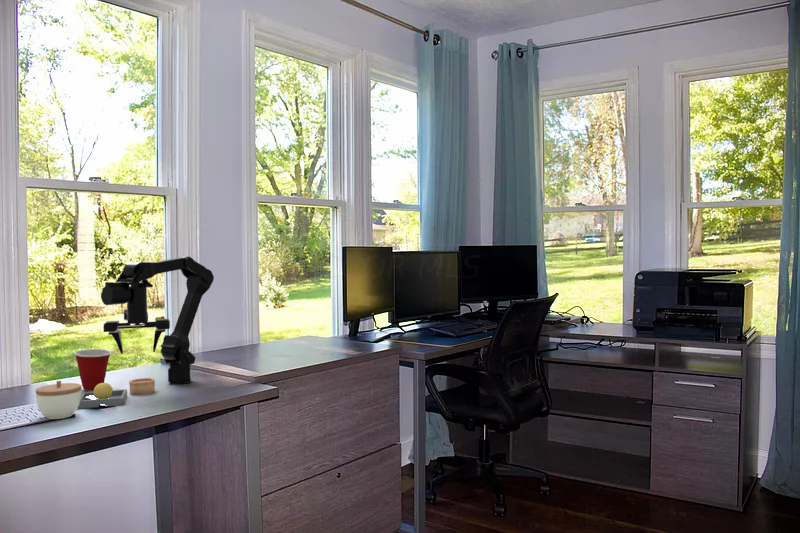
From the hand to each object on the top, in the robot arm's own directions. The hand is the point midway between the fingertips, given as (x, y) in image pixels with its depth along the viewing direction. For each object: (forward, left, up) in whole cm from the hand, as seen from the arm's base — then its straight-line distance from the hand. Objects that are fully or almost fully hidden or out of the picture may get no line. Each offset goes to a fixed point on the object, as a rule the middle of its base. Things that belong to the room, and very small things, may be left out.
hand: (138, 353), depth 198 cm
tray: (+9, +11, -12) cm, 19 cm away
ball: (+9, +11, -11) cm, 18 cm away
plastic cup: (+14, -10, -12) cm, 21 cm away
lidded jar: (+18, +24, -12) cm, 32 cm away
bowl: (-1, +1, -12) cm, 12 cm away
